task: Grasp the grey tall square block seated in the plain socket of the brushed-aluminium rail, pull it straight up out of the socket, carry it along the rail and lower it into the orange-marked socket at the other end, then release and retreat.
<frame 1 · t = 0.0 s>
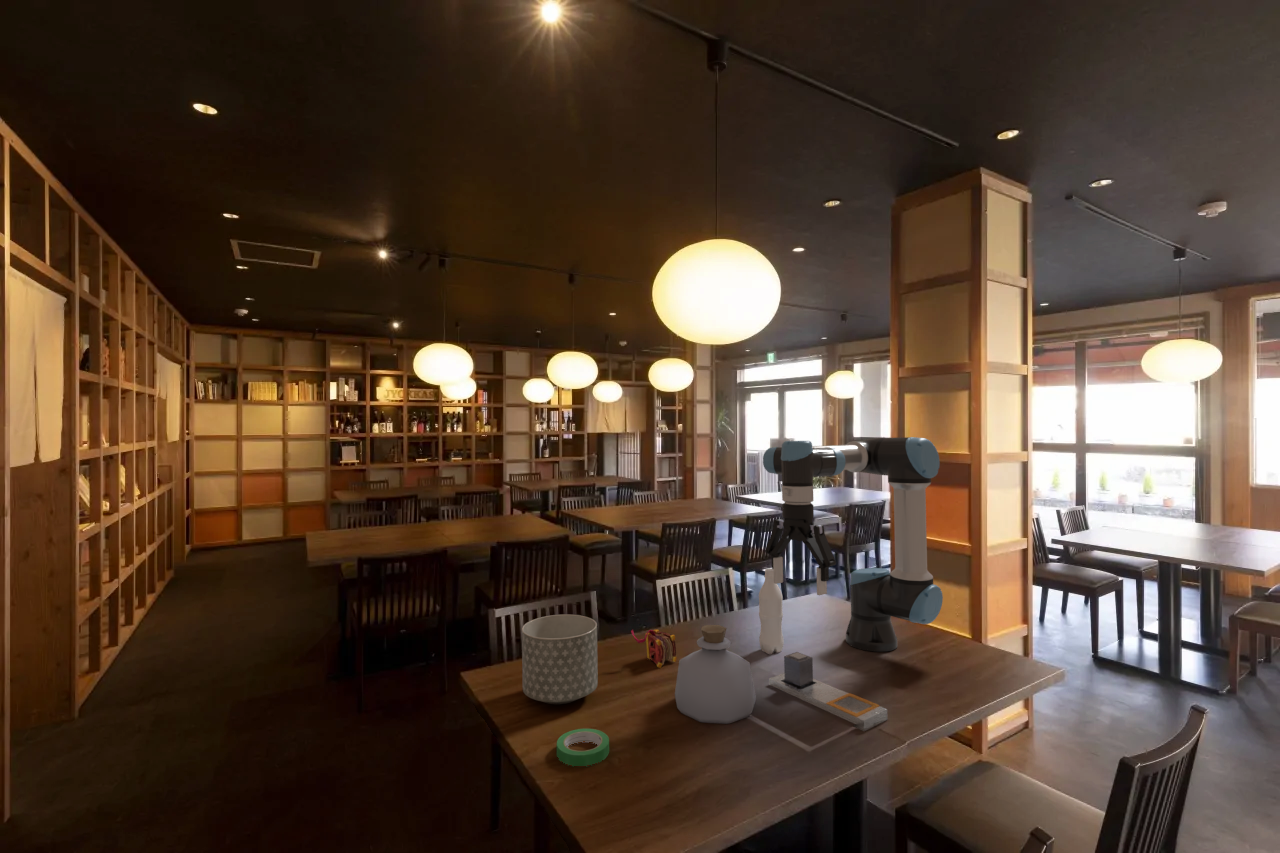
hand: (799, 588, 144), 28 cm above the table, fingers open, 13 cm apart
book monster: (652, 663, 170), on the table
bottle: (713, 707, 143), on the table
tape roll: (583, 754, 123), on the table
rail: (824, 702, 143), on the table
water bottle: (771, 652, 177), on the table
planter: (560, 697, 149), on the table
grey tall square block: (798, 688, 150), point 1 cm above the table, touching rail
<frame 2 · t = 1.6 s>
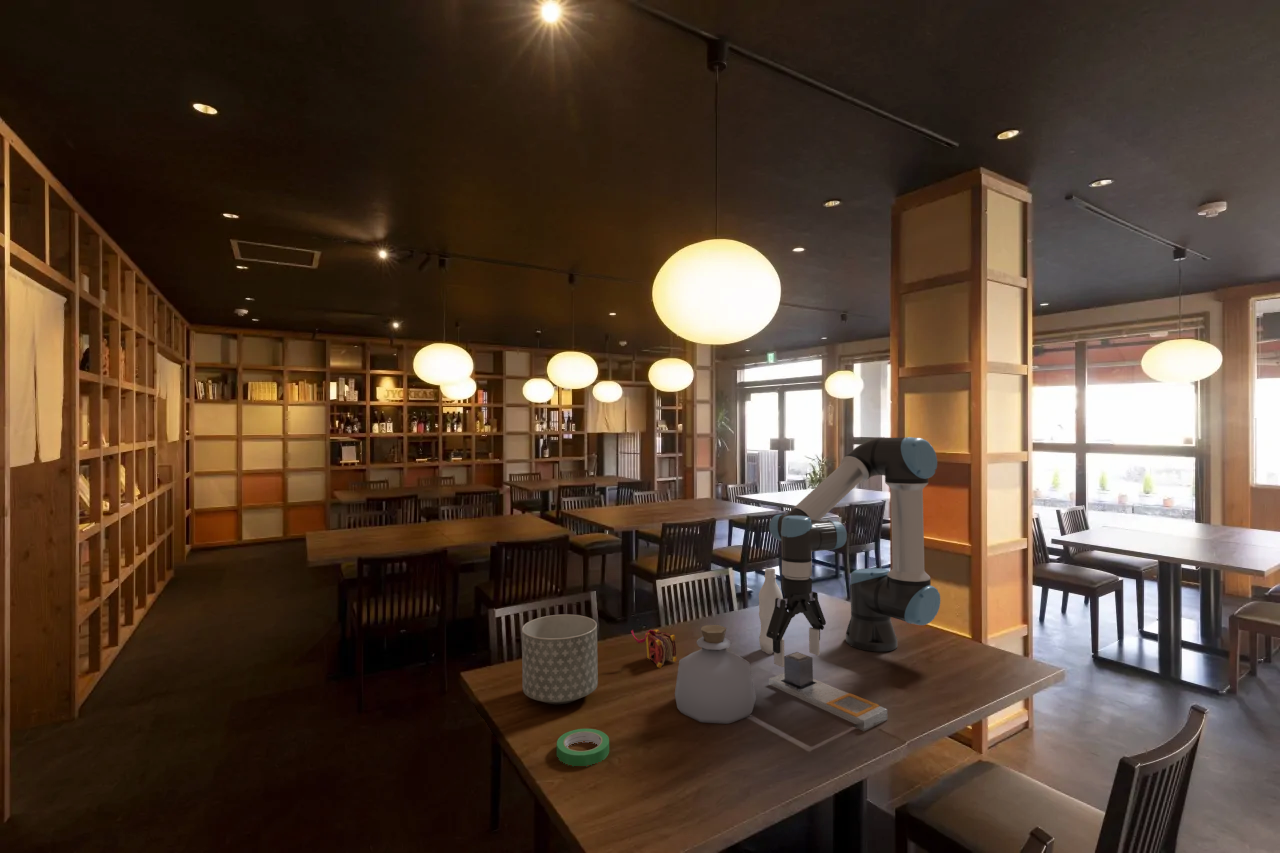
hand: (797, 659, 150), 8 cm above the table, fingers open, 13 cm apart
nothing on the table moved.
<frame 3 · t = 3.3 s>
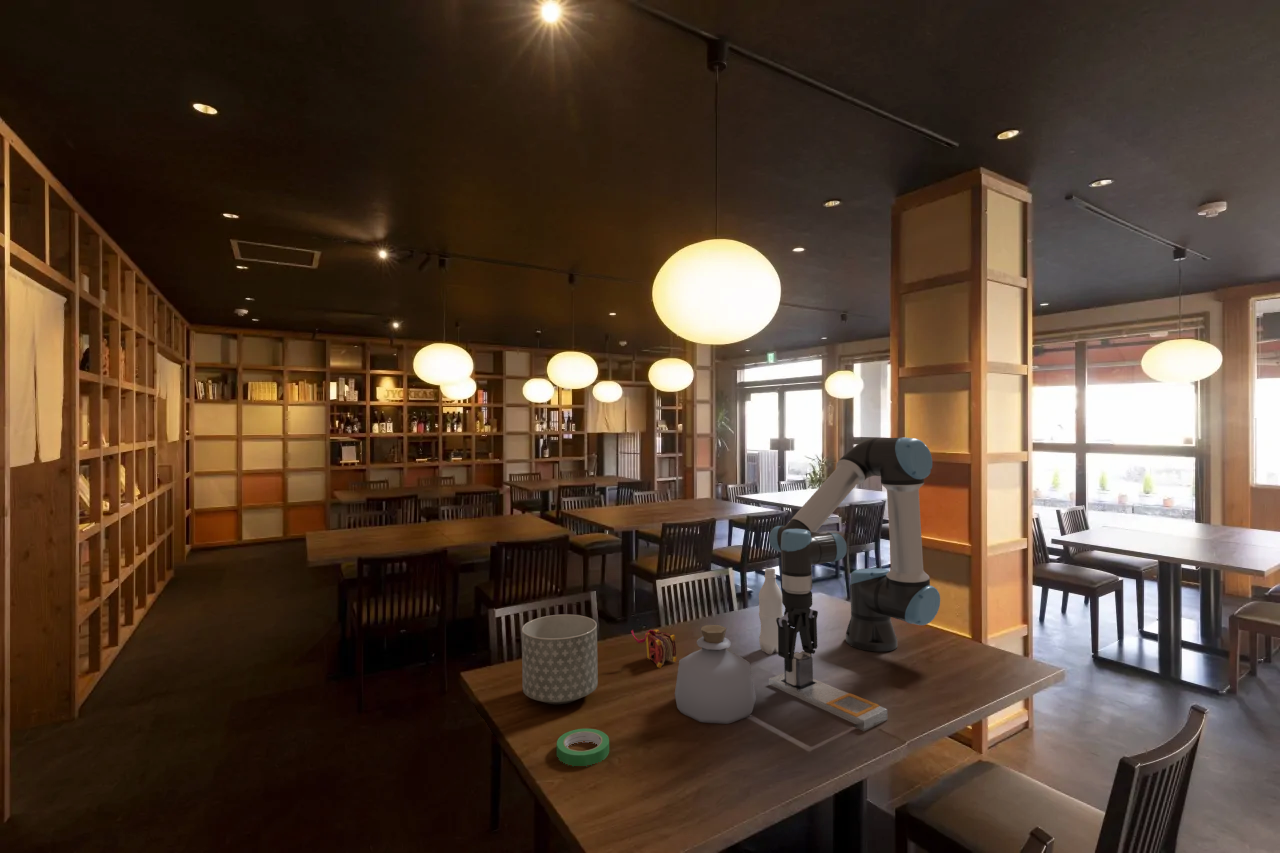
hand: (798, 680, 150), 3 cm above the table, fingers closed on grey tall square block, 5 cm apart
grey tall square block: (798, 688, 150), point 1 cm above the table, touching gripper, rail
everything else where it was.
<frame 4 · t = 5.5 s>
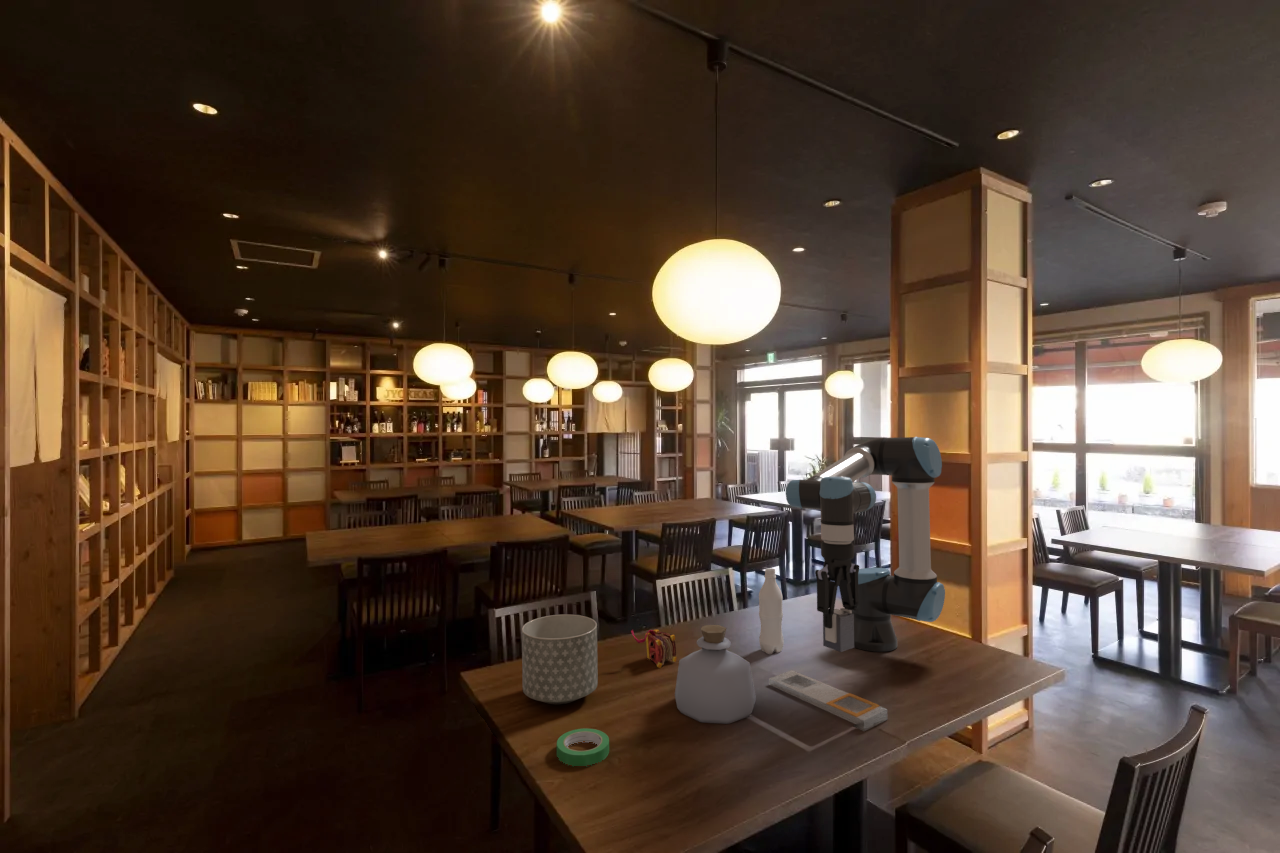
hand: (838, 638, 139), 17 cm above the table, fingers closed on grey tall square block, 5 cm apart
grey tall square block: (838, 646, 139), point 15 cm above the table, touching gripper
everything else where it was.
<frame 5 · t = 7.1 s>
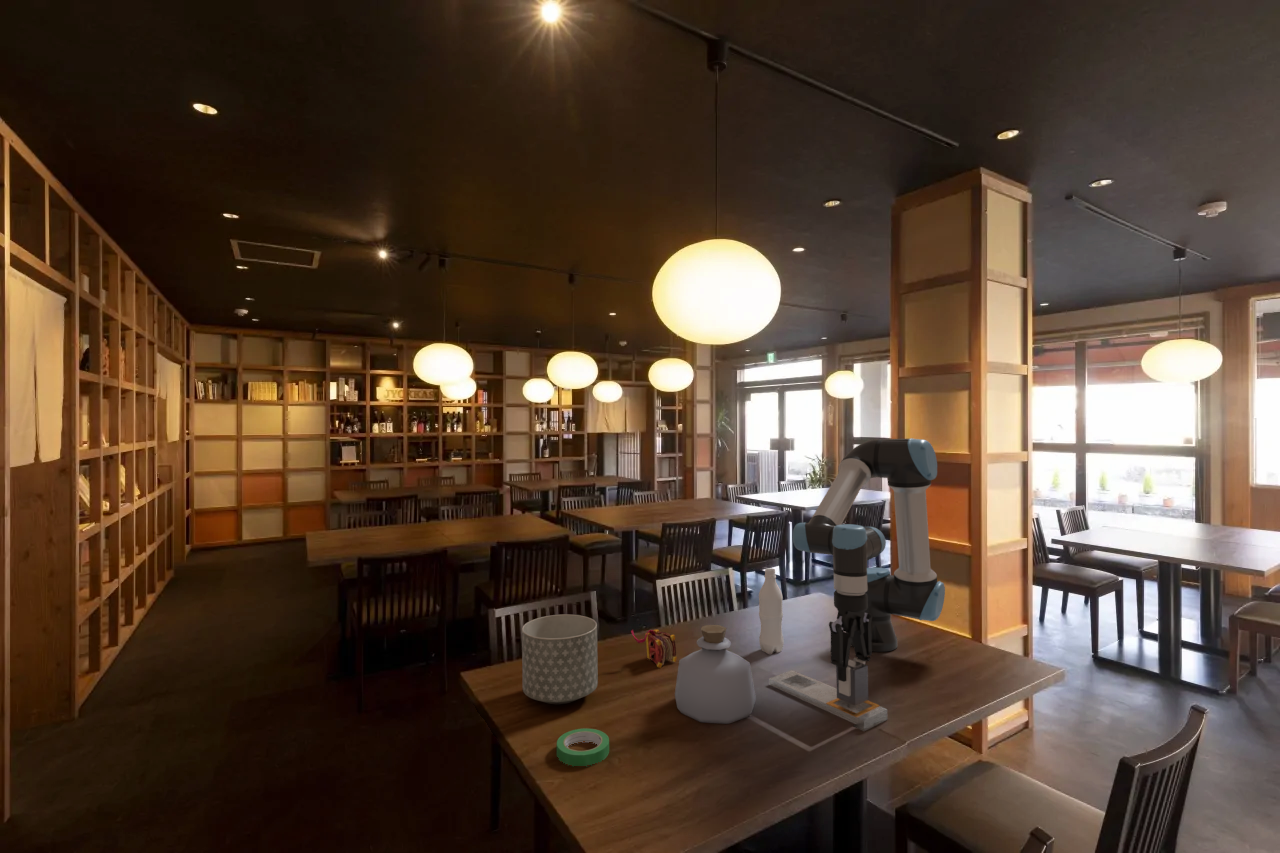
hand: (852, 690, 137), 6 cm above the table, fingers closed on grey tall square block, 5 cm apart
grey tall square block: (852, 698, 137), point 4 cm above the table, touching gripper
everything else where it was.
when the fingers open (4 cm above the table, at t = 8.1 s): grey tall square block stays where it is, resting on rail.
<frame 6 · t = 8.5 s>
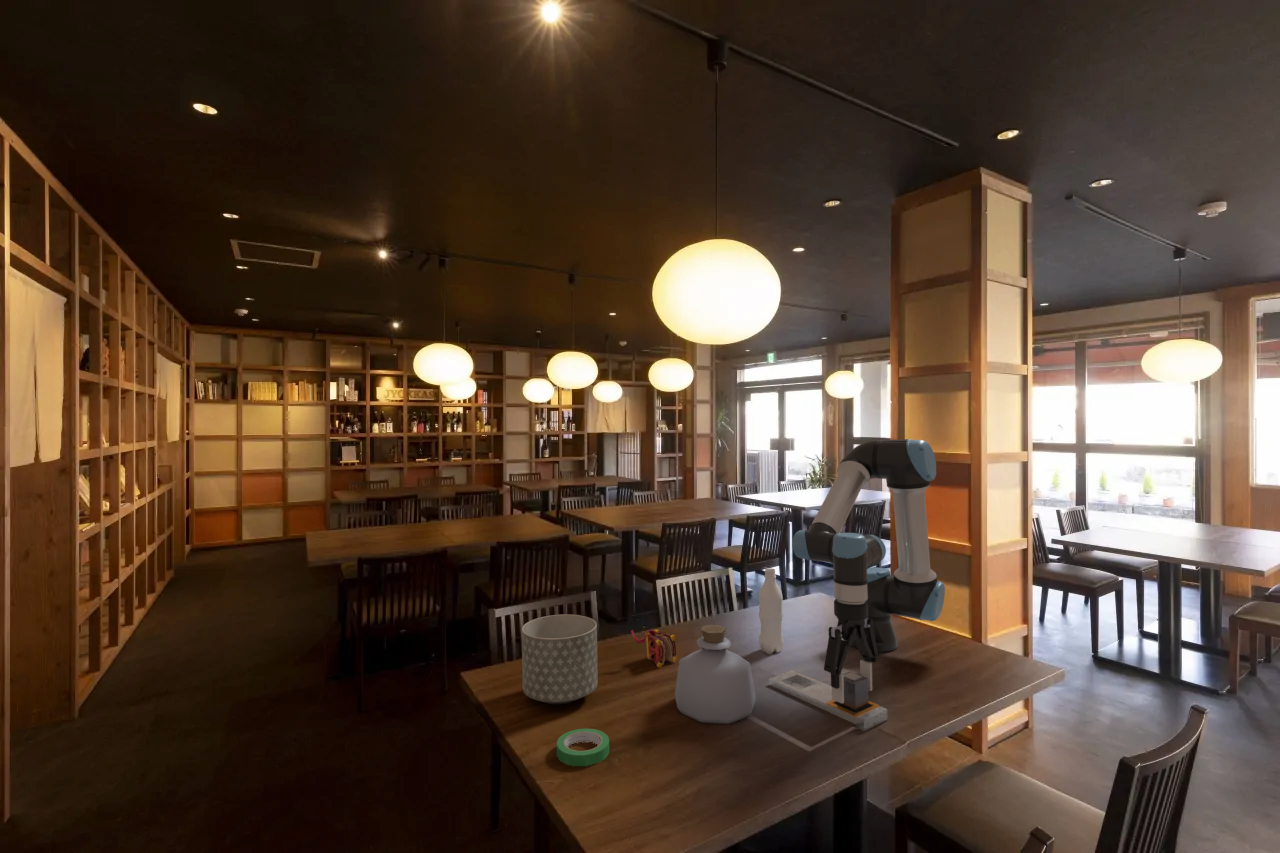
hand: (852, 694, 137), 5 cm above the table, fingers open, 10 cm apart
grey tall square block: (852, 711, 137), point 1 cm above the table, touching rail
everything else where it was.
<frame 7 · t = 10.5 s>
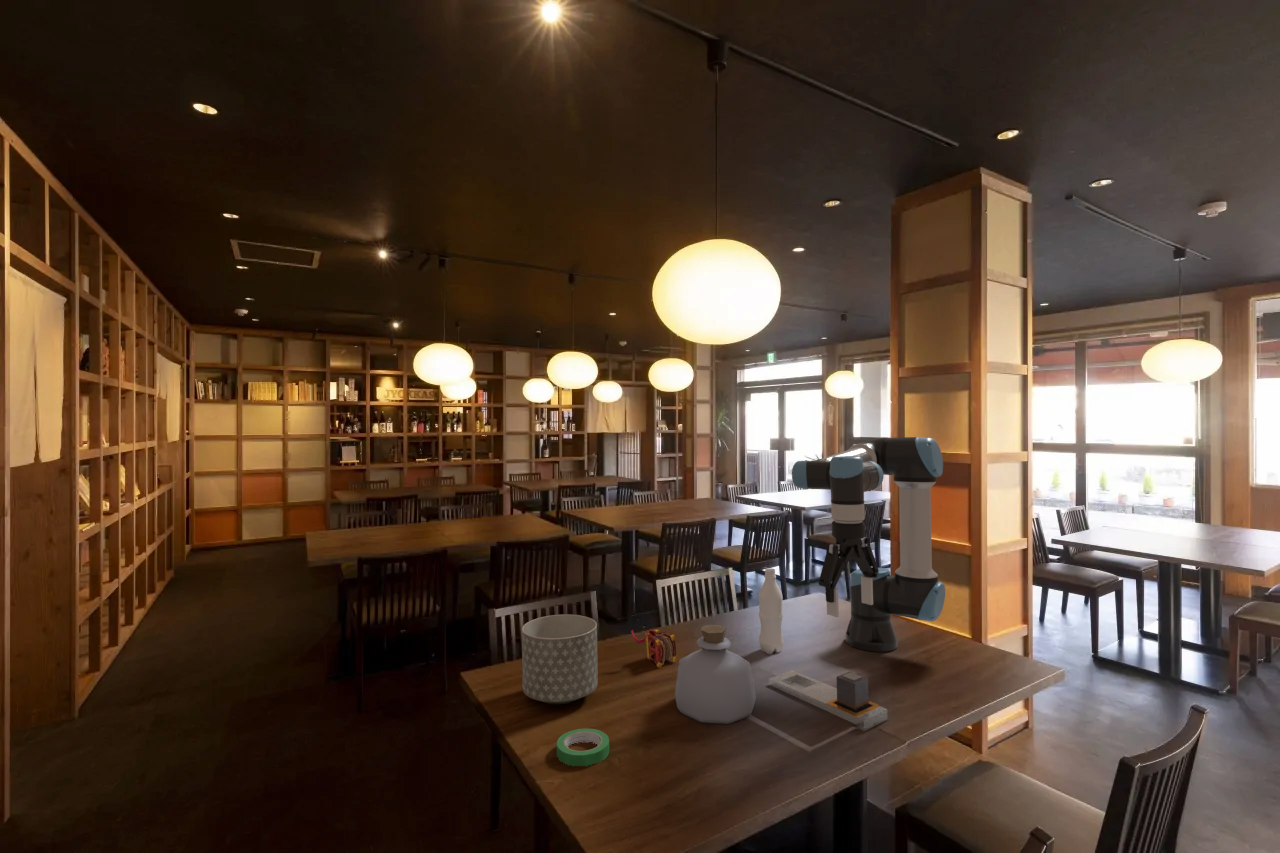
hand: (850, 609, 139), 24 cm above the table, fingers open, 13 cm apart
nothing on the table moved.
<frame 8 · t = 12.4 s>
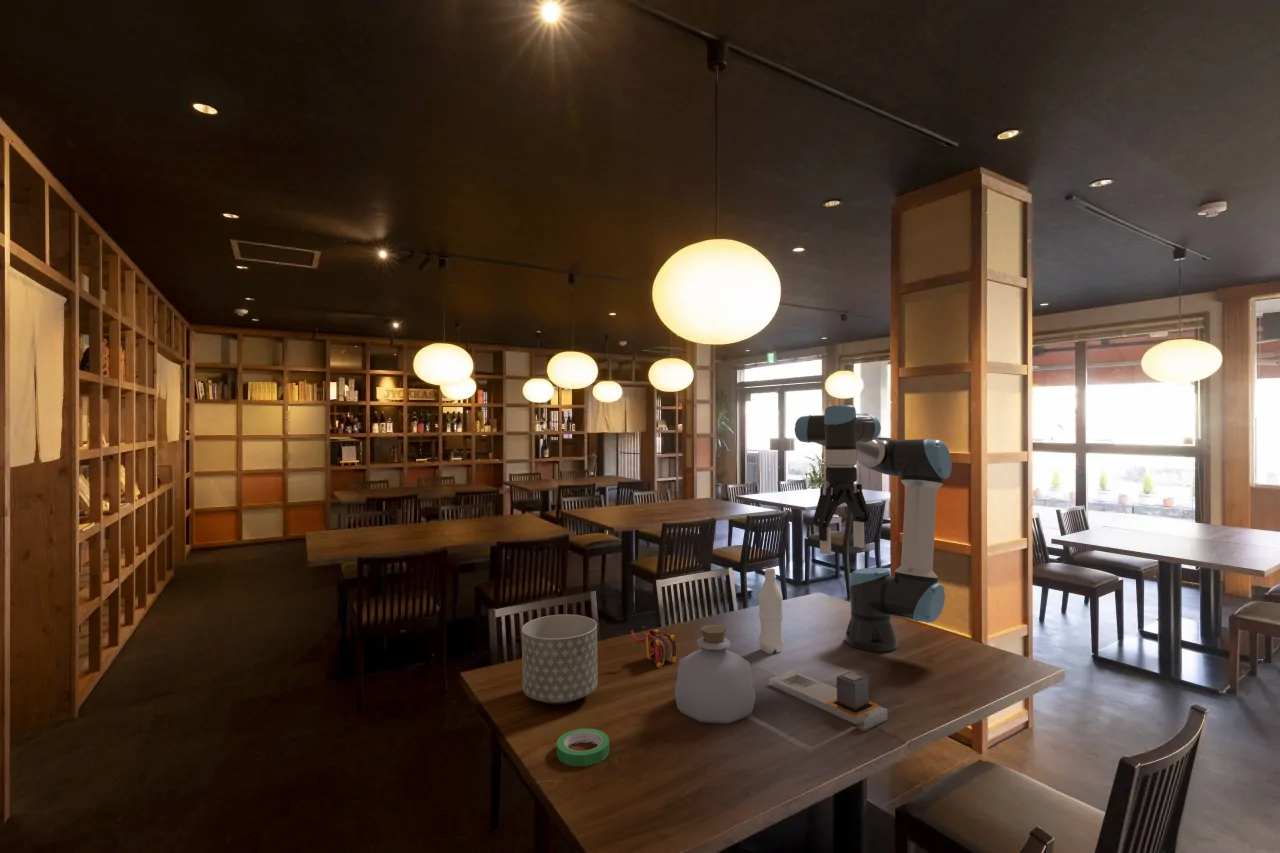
hand: (842, 550, 147), 37 cm above the table, fingers open, 13 cm apart
nothing on the table moved.
at the end: grey tall square block 0.0 cm from the target spot on the rail, point 0.8 cm above the rail's base; grey tall square block tilted 0°; the gripper is holding nothing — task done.
